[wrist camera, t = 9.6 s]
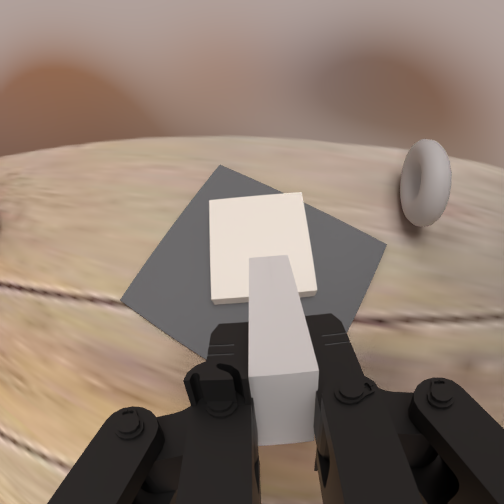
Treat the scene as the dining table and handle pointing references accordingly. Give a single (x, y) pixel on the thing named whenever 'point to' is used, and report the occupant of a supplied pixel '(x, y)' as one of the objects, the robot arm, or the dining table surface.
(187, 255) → the mat
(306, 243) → the board
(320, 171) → the dining table surface
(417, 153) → the donut
